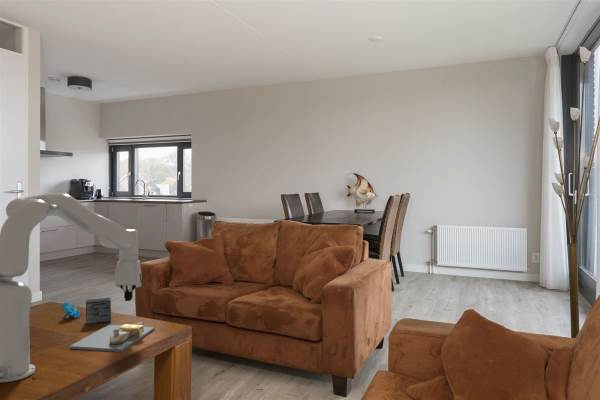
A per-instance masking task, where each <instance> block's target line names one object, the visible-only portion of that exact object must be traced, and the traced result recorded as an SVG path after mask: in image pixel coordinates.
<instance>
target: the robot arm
mask: <svg viewBox="0 0 600 400" xmlns="http://www.w3.org/2000/svg"><path fill="white" fill-rule="evenodd" d="M5 213H6V216H7V218H6V220H5V221H4V223H3V224H2V226H1V229H0V383H2V384H3V383H11V382H15V381H20V380H23V379H25V378H28V377H29V376H31V375H33V374H34V373H35V372H36V366H35V365H34V364H32V363H31V352H30V351H31V349H30V348H31V347H30V346H31V344H30V343H31V342H30V341H31V339H30V337H31V336H30V335H31V334H30V333H31V331H30V311H31V307H32V306H31V305H32V301H33V299H32V298H33V294H32V290H31V288H30V287H29V286H28V285H27V284H25V283H24V282H21V281H16V280H13V278H19V277H22V276H23V275H24V274H25V273H26V272H27V271H28V269H29V263H30V261H29V259H30V258H29V256H30V238H31V233H32V232H33V230H34V228H35V227H37V225H39V224H40V223H42V222H43V221H45V219H47V217H50V216H52V217H59V218H61V220H63V221H65V222H67V223H68V224H70V225H71V226H73V227H74V228H76V229H78V230H79V231H81V232H83V233H85V234H89V235H94V236H97V237H98V242H99V244H100V245H101V246H102V247H104V248H108V249H116V250H118V249H119V254H117V255H116V256H115V259H118V261H117V262H116V265H115V273H114V284H115V287H117V288H120V289H121V290H122V291H123V293H124V295H123V296H124V297H123V298H124V302H130V301H132V299H133V295H134V294H133V291H134V290H135V289H136V288H141V287H142V268H141V262H140V260H139V231H138V230H137V229H134V228H131V229H130V228H124V227H123V226H122V225H120V224H118V223H116V222H115V221H113V220H112V219H111V220H110V219H109V218H107V217H104V216H103V215H100V214H98V213H97V212H94V211H93V210H92V209H90V208H89V207H87V206H86V205H85V204H83V203H82V202H80V201H79V200H78V199H76V198H74V197H73V196H72V195H69V194H67V193H53V192H52V193H45V194H39V195H33V196H26V197H25V196H24V197H18V198H15V199H12V200H11V201H10V202H8V203H7V205H6V206H5Z"/></svg>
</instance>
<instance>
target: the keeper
mask: <svg viewBox="0 0 600 400" xmlns="http://www.w3.org/2000/svg"><path fill="white" fill-rule="evenodd" d="M144 327H145V325H133V324H129V323H128V324H127V323H125V324H122V326H120V327H119V330H134V337H135V338H140V337H142V336H143V328H144Z"/></svg>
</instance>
